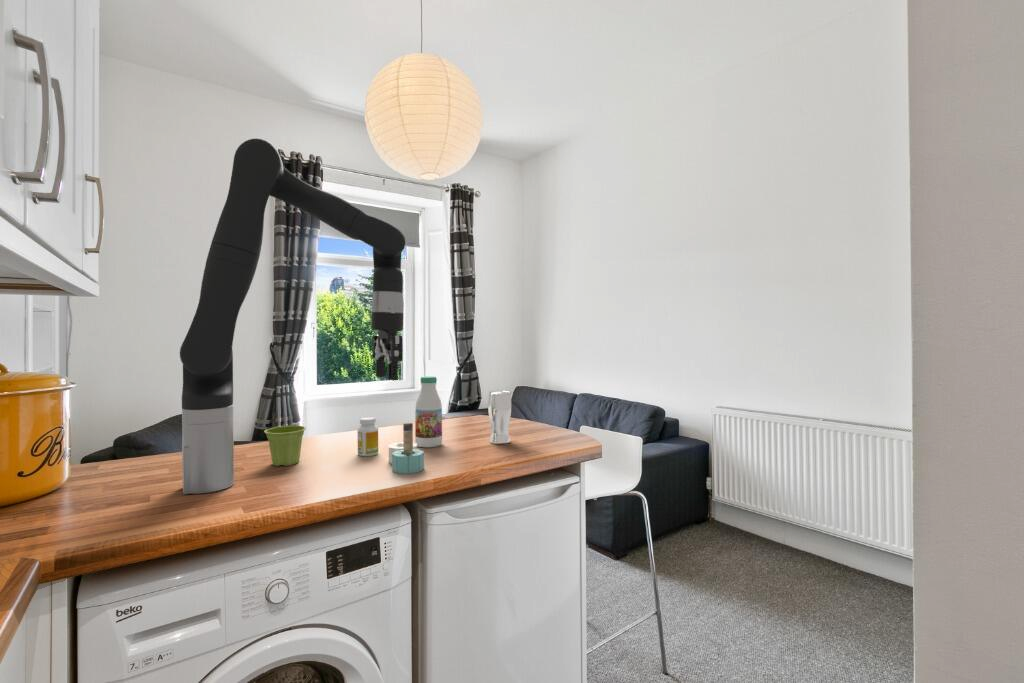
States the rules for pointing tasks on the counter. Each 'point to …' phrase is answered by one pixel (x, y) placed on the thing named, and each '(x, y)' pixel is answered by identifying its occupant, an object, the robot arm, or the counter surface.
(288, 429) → the plant pot
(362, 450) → the supplement bottle
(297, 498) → the counter surface
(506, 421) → the beer glass
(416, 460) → the teal bead
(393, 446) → the cream bead
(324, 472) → the counter surface
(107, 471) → the counter surface
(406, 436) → the needle dowel
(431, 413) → the milk bottle
